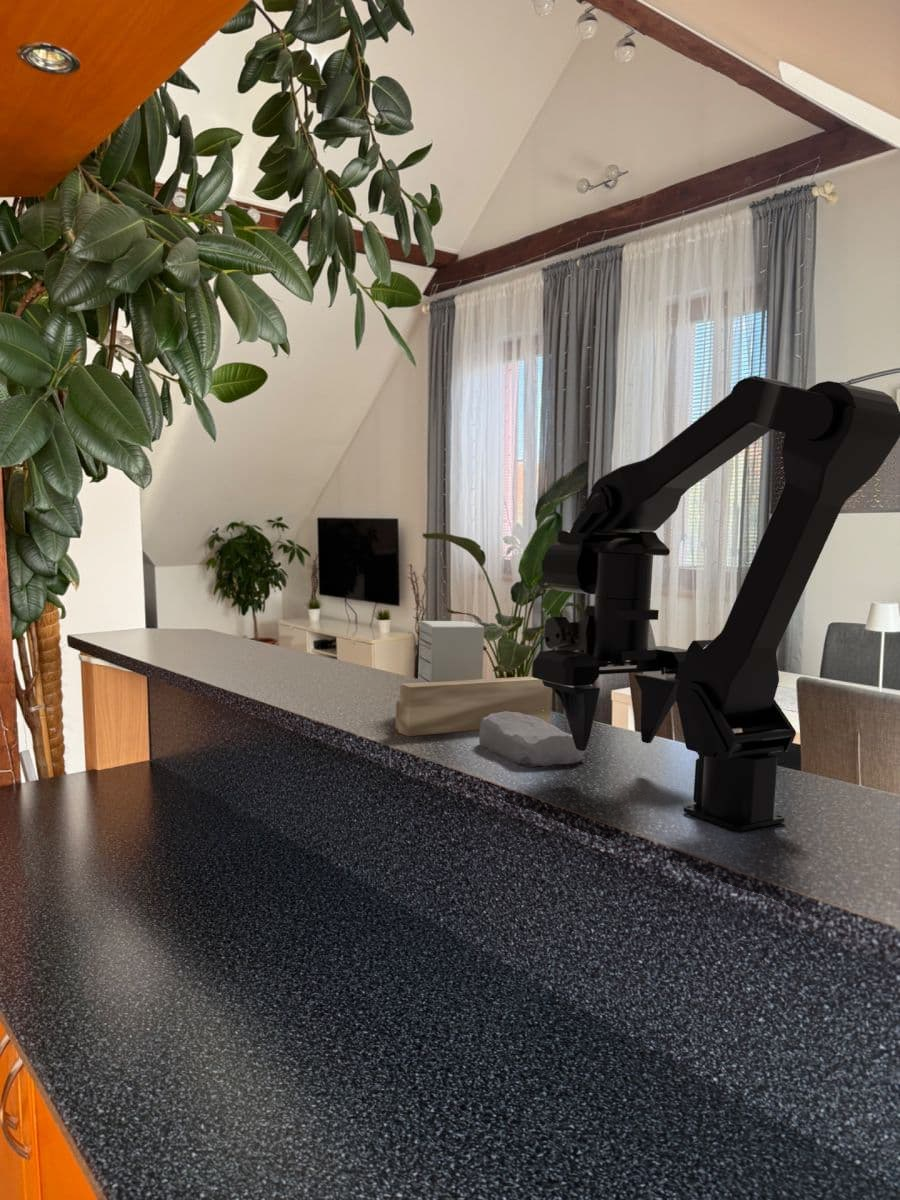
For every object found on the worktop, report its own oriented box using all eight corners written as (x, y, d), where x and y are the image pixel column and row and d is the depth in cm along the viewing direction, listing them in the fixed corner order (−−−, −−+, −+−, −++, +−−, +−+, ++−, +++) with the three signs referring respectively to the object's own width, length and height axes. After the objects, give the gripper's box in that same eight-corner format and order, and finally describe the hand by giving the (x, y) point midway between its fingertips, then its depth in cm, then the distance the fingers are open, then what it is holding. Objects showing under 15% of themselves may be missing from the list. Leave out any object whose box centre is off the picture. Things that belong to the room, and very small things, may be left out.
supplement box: (465, 708, 129) (469, 620, 128) (481, 719, 122) (485, 626, 121) (415, 709, 127) (419, 619, 126) (428, 720, 120) (432, 625, 119)
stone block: (539, 754, 112) (469, 743, 108) (548, 716, 112) (479, 704, 107) (594, 783, 101) (518, 772, 97) (604, 741, 101) (529, 728, 97)
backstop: (550, 722, 122) (552, 678, 121) (408, 736, 110) (410, 687, 110) (530, 716, 125) (532, 673, 125) (390, 729, 114) (392, 681, 113)
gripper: (633, 592, 106) (626, 724, 107) (504, 592, 96) (497, 737, 97) (707, 600, 97) (698, 745, 98) (572, 600, 87) (564, 761, 88)
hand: (614, 746), depth 95 cm, fingers open, 9 cm apart
